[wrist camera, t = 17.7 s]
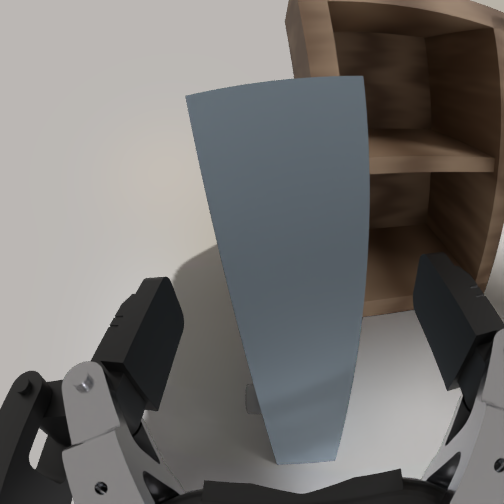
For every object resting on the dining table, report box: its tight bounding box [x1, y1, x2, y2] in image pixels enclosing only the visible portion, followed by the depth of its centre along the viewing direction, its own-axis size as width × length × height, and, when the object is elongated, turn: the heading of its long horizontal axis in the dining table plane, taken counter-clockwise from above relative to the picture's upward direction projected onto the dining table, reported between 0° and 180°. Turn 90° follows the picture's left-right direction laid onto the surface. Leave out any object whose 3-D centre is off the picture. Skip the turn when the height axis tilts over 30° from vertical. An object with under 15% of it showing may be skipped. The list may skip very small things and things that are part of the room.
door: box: [186, 76, 370, 464], centre depth 13 cm, size 4×10×16 cm, turn 176°
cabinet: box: [285, 0, 504, 317], centre depth 19 cm, size 19×15×22 cm
